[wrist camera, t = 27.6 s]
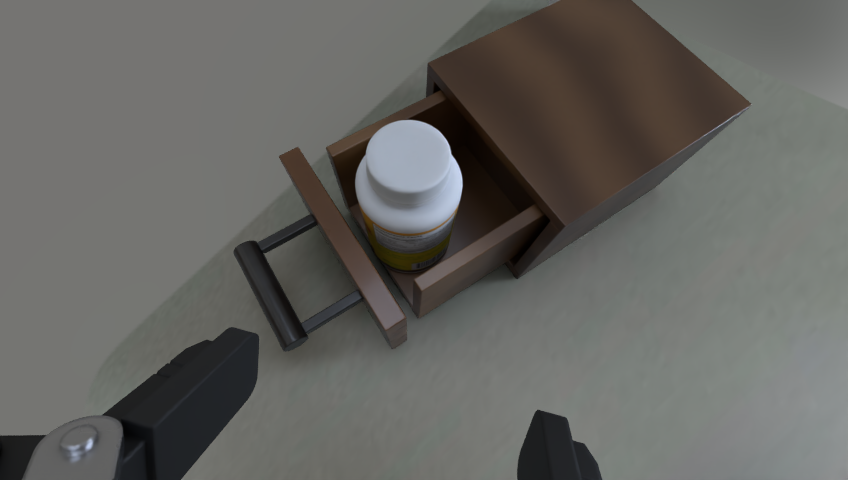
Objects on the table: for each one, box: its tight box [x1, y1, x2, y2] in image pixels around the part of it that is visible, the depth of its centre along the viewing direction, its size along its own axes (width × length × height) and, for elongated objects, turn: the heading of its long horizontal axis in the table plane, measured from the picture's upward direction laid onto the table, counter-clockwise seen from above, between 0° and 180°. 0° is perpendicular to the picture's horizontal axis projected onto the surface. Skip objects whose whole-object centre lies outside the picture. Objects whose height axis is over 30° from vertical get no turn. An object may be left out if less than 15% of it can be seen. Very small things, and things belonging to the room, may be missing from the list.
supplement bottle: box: [355, 120, 463, 273], centre depth 23 cm, size 6×6×10 cm
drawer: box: [234, 90, 550, 352], centre depth 25 cm, size 18×11×8 cm, turn 123°
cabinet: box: [426, 0, 752, 279], centre depth 28 cm, size 15×13×10 cm
